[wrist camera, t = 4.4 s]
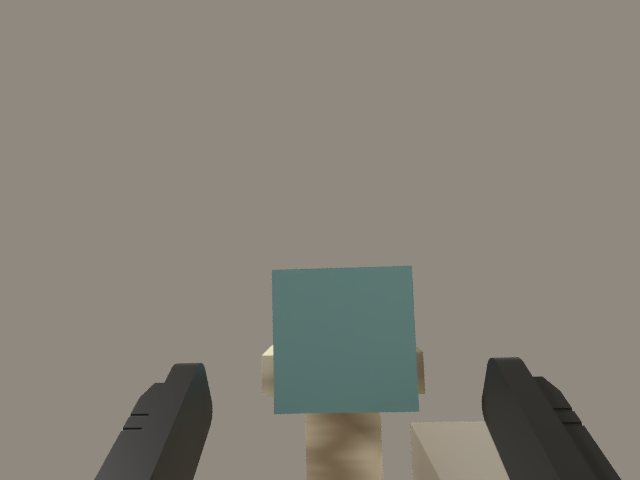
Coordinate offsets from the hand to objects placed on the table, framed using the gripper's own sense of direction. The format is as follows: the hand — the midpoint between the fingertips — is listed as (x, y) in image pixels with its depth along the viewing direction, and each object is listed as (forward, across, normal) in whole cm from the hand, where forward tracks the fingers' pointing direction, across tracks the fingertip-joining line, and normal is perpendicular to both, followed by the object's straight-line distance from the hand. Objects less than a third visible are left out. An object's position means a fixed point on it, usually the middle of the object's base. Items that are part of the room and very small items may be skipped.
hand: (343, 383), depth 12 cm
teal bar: (+11, 0, +7) cm, 13 cm away
